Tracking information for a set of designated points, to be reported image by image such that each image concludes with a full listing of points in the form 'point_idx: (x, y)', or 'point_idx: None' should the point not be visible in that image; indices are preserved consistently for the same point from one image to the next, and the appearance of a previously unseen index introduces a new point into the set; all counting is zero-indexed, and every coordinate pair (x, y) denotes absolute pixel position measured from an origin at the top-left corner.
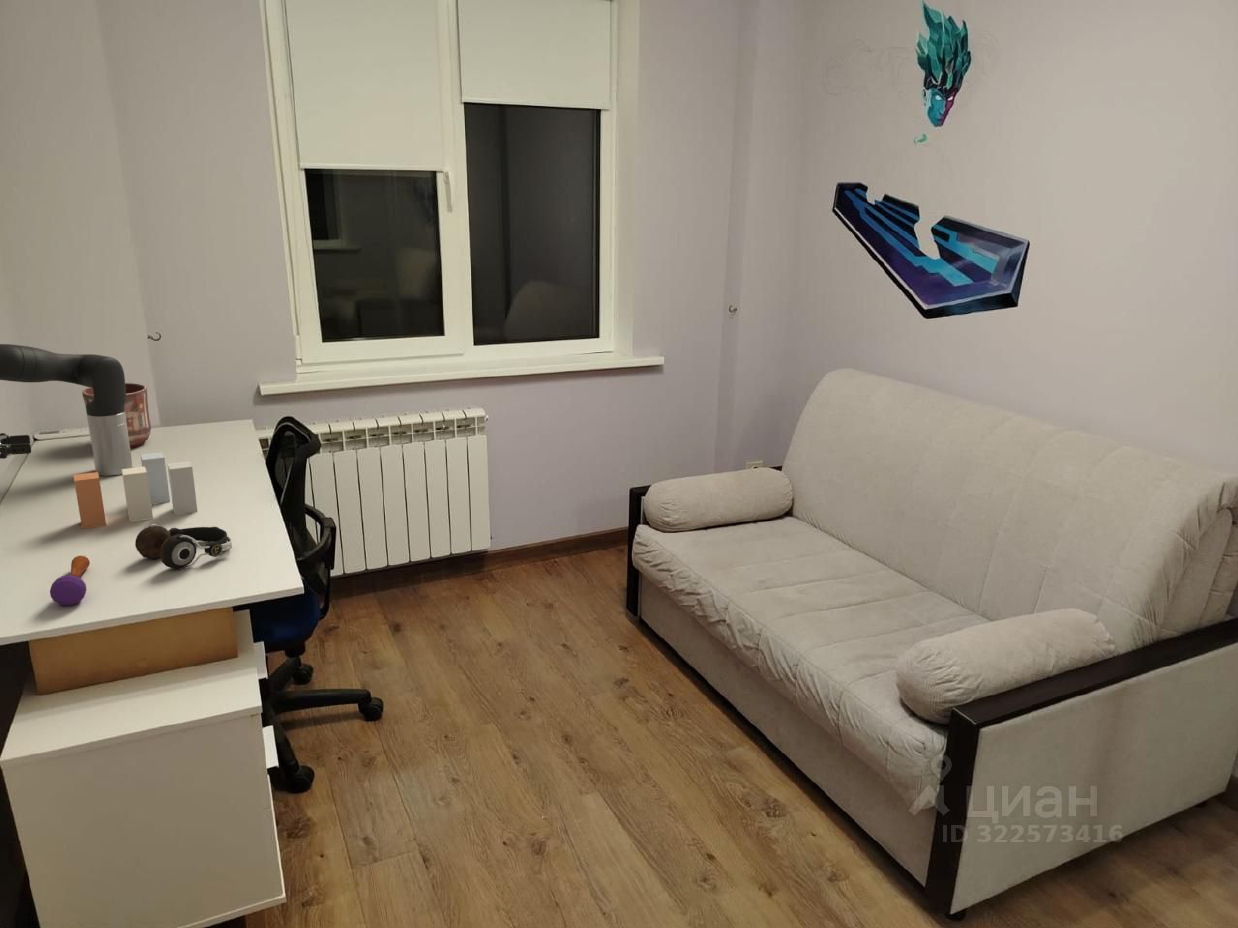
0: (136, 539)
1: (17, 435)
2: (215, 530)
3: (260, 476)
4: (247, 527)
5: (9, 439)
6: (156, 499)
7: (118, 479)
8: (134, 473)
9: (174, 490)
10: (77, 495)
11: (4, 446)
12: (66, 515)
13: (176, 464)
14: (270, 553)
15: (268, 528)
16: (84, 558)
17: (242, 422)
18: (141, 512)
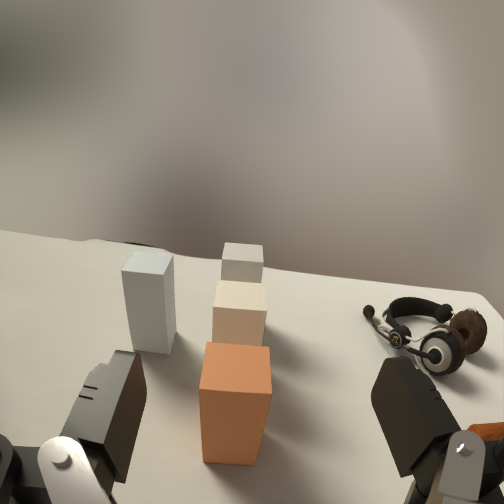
0: (456, 358)
1: (97, 396)
2: (394, 304)
3: (149, 252)
4: (343, 293)
5: (102, 461)
6: (171, 339)
7: (3, 344)
8: (264, 296)
9: None
10: (265, 420)
11: (481, 454)
12: (133, 475)
13: (235, 253)
14: (422, 293)
15: (352, 282)
16: (480, 424)
17: None
18: None
